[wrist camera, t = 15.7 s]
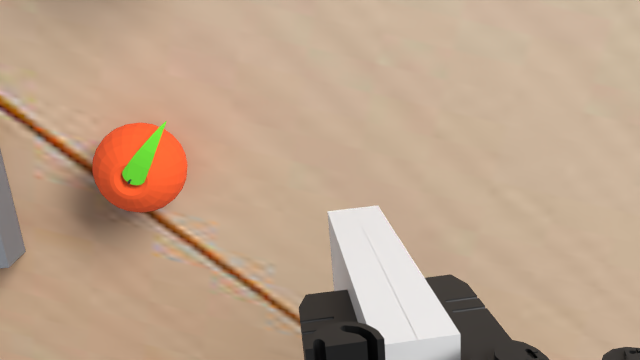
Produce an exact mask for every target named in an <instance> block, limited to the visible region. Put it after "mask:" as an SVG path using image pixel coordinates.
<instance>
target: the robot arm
mask: <svg viewBox="0 0 640 360" xmlns="http://www.w3.org/2000/svg"><path fill="white" fill-rule="evenodd" d="M328 222H329V234H330V246H331V258H332V270H333V281H334V291H332V292H324V293H316V294H308V295H306V296H305V298H304V299H303V301H302V303H301V304H300V306H299V314H300V323H301V332H302V341H303V351H304V360H549V359H548V357H547V356H545V355H544V354H543V353H542V352H541V351H539V350H538V349H537V348H535V347H533V346H530V345H528V344H526V343H524V342H519V341H514V340H512V339H511V338H510V337H509V336H508V334H507V333H506V332H505V331H504V329H503V328H502V327H501V326H500V324H499V323H498V322H497V321H496V319H495V318H494V317H493V316H492V314H491V313H490V312H489V310H488V309H487V308H486V309H485V305H484V304H483V303H482V302H481V300H480V299H479V298H477V295H476V294H475V293H474V292H473V290H472V289H471V288H470V287H469V285H468V284H467V283H465V282H463V281H461V280H460V279H458V278H456V277H454V276H452V275H444V276H436V277H428V278H424V276H423V275H422V273H421V272H420V270H419V269H418V267H417V265H416V264H415V262H414V261H413V259H412V258H411V256H410V255H409V253H408V251H407V250H406V248H405V247H404V245H403V244H402V242H401V241H400V239H399V237H398V236H397V234H396V233H395V231H394V230H393V228H392V227H391V225H390V223H389V222H388V220H387V219H386V217H385V216H384V214H383V212H382V211H381V209H380V208H379V206H369V207H361V208H352V209H343V210H335V211H328ZM602 360H640V348H632V347H623V348H618V349H612V350H611V351H609V352H607V353H606V354H604V355H603V358H602Z"/></svg>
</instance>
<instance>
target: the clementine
mask: <svg viewBox="0 0 640 360" xmlns="http://www.w3.org/2000/svg"><path fill="white" fill-rule="evenodd" d="M165 124H166V122H165V123H164V124H162V125H161V126H160V127H158V126H156V125H153V124H147V123H134V124H127V125H124V126H122V127H119V128H117V129H114V130H113V131H112V132H110V133H109V134H108V135H107V136H105V138H104V139H103V140H102V142H101V143H100V144H99V146H98V148H97V149H96V152H95V155H94V158H93V168H92V171H93V175H94V179H95V183H96V185H97V187H98V188H99V190H100V192H101V194H102V195H103V196H104V197H105V198H106V199H107V200H108V201H109V202H111V203H112V204H114V205H115V206H117V207H118V208H121V209H124V210H127V211H133V212H149V211H155V210H157V209H160V208H162V207H164V206H166V205H167V204H168V203H170V202H171V201H172V200H173V199H175V198H176V196H177V195H178V194H179V192H180V191H181V190H182V188H183V186H184V183H185V181H186V175H187V160H186V155H185V152H184V150H183V148H182V146H181V144H180V143H179V142H178V141H177V140H176V138H175V137H174V136H173V135H172V134H170V133H169V132H167V131H166V130H165V129H164V127H165Z"/></svg>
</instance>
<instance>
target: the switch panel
mask: <svg viewBox="0 0 640 360" xmlns="http://www.w3.org/2000/svg"><path fill="white" fill-rule="evenodd" d="M25 252H26V251H25V247H24V243H23V239H22V235H21V231H20V227H19V223H18V219H17V215H16V211H15V207H14V203H13V199H12V195H11V191H10V187H9V183H8V179H7V175H6V171H5V167H4V163H3V159H2V155H1V150H0V268H9V267H10V266H11V265H12V264H13V263H14V262H15V261H16V260H17V259H18V258H19V257H20V256H21V255H22V254H24V253H25Z"/></svg>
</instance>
